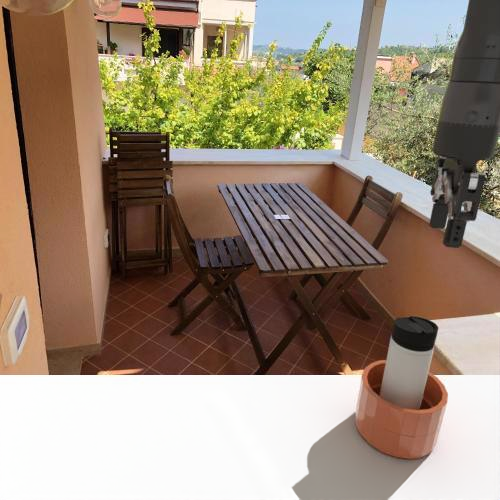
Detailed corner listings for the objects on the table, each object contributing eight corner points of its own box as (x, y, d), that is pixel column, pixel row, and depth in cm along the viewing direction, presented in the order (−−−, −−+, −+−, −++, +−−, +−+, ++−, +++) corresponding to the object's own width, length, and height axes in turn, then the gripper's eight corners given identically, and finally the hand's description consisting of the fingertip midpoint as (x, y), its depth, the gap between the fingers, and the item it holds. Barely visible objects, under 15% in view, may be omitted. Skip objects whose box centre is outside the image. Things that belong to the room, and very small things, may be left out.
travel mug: (389, 445, 67) (412, 335, 59) (367, 415, 72) (386, 312, 65) (423, 438, 68) (450, 330, 61) (399, 409, 74) (421, 308, 67)
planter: (394, 393, 79) (402, 352, 75) (453, 443, 68) (466, 397, 65) (339, 414, 73) (345, 371, 70) (394, 472, 62) (405, 424, 59)
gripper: (523, 126, 49) (487, 257, 55) (482, 118, 62) (457, 224, 68) (454, 122, 50) (426, 251, 56) (428, 115, 63) (408, 220, 69)
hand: (443, 236), depth 62 cm, fingers open, 8 cm apart
